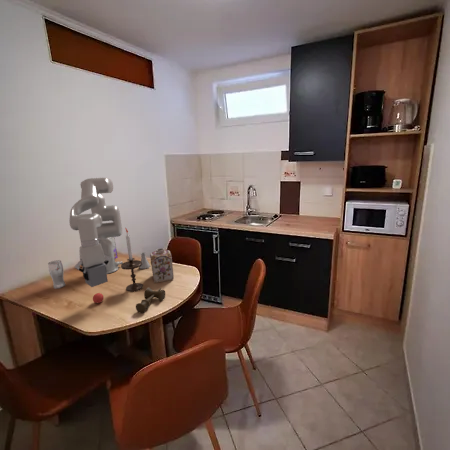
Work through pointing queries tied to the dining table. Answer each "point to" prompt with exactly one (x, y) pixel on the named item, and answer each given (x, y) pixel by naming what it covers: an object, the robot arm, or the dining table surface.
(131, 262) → the candlestick
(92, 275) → the matte gray cube
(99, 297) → the ball
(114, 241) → the white carton
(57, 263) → the beer glass
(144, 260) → the flask
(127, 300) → the dining table surface
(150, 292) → the kendama
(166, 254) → the decorative jar
